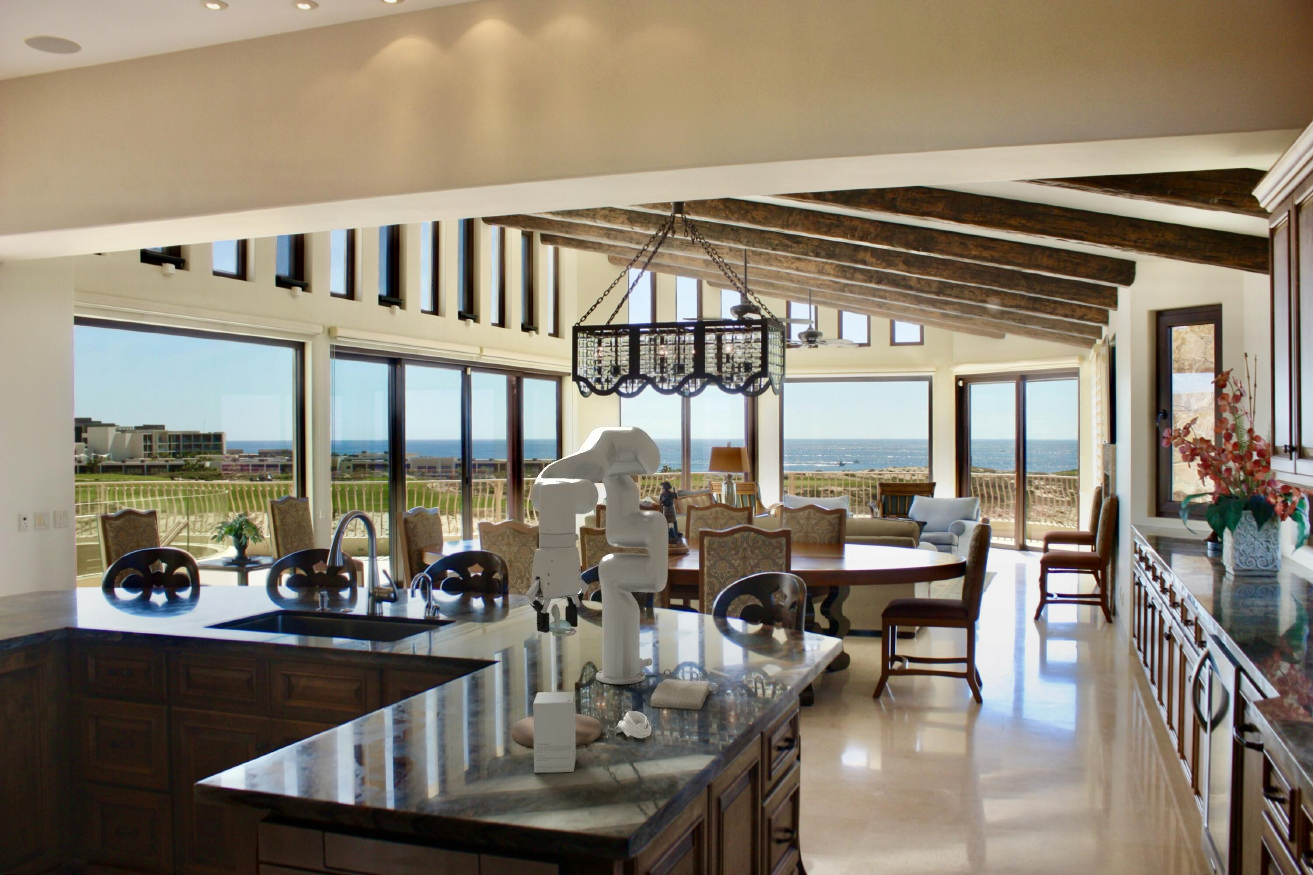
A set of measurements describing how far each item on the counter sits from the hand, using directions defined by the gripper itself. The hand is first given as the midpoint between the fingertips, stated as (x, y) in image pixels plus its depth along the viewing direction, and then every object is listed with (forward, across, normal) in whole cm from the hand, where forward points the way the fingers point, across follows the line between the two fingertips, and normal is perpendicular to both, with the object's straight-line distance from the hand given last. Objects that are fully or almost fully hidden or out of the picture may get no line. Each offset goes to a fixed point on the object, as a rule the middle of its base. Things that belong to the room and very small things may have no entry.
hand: (557, 628), depth 180 cm
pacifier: (+2, -1, +1) cm, 2 cm away
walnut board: (+21, 0, 0) cm, 21 cm away
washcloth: (+22, -37, +1) cm, 43 cm away
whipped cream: (+22, -11, +12) cm, 27 cm away
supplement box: (+21, +12, +14) cm, 28 cm away
